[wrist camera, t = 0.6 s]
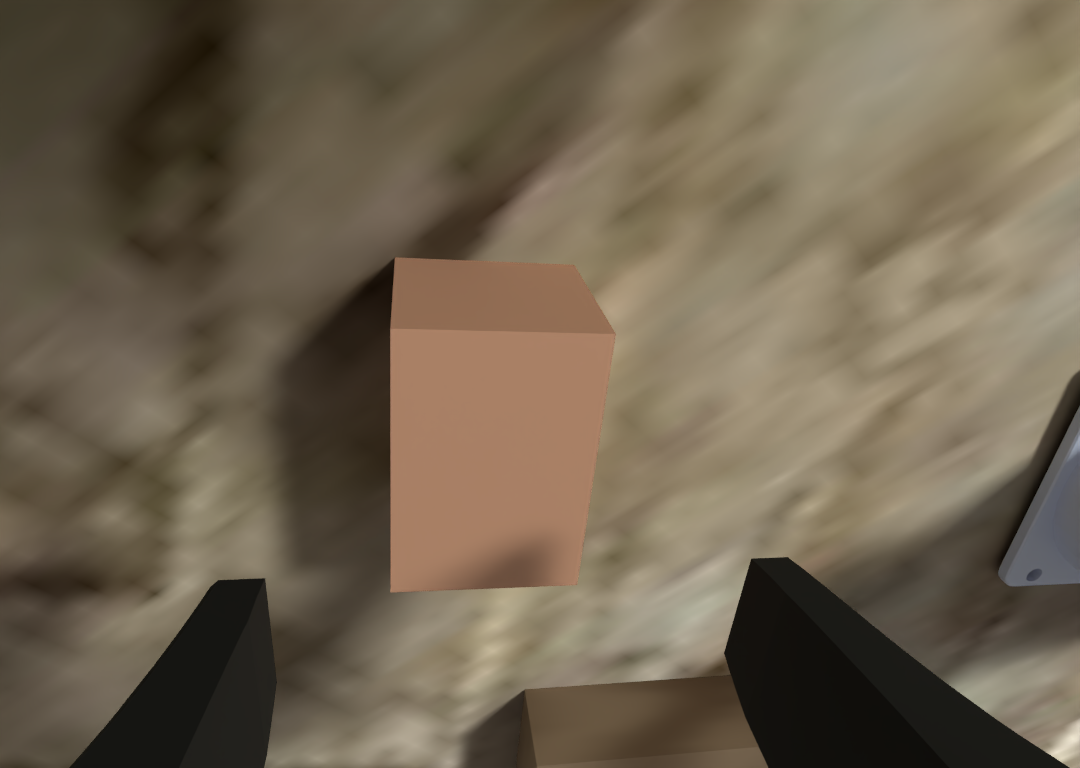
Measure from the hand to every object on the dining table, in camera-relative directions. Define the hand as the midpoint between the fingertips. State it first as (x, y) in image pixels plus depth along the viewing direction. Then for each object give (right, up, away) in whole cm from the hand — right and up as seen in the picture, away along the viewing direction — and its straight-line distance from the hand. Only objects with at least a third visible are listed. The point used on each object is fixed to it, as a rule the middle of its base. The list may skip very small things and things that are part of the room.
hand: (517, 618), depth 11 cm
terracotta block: (-1, +4, +7) cm, 8 cm away
